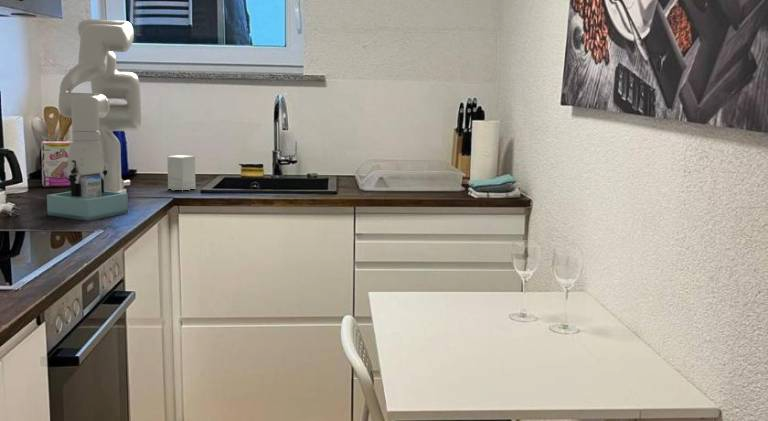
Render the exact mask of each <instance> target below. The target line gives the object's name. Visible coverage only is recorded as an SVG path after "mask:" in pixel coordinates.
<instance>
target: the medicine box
mask: <svg viewBox="0 0 768 421" xmlns="http://www.w3.org/2000/svg"><path fill="white" fill-rule="evenodd" d="M76 177H77V176H76ZM76 177H75V178H76ZM79 183H80V184H81V196H80V197H75V196H74V198H82V199H92V198H98V197H102V192H101V175H100V174H93V175H85V176H82V177H81V179H80V181H79Z"/></svg>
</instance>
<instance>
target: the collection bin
mask: <svg viewBox="0 0 768 421" xmlns="http://www.w3.org/2000/svg"><path fill="white" fill-rule="evenodd" d="M128 198H129V196H128V192H126V193H120V192H112V191H104V193H102V197H98V198H92V199H82V198H74V196H72V195H71V190H70V191H64V192H59V193H51V194H46V208H47V216H52V217H58V218H66V219H75V220H82V221H88V222H89V221H93V220H99V219H104V218H108V217H114V216H118V215H124V214H128V213H129V204H128V203H129V202H128V201H129V200H128Z"/></svg>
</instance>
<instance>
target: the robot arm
mask: <svg viewBox="0 0 768 421" xmlns="http://www.w3.org/2000/svg"><path fill="white" fill-rule="evenodd" d="M77 30H78V36H79V37H80V38H79V51H78V62H77V64H76V65H75V66H73V67H72V68H71V69H70V70H69V71H68V72H67V73H66V74H65V75H64V77H63V78H62V80H61V82H60V86H59V94H58V112H60V114H61V115H62V116H63V117H65V118H70V119H71V134H72V135H71V136H72V137H71V138H72V141H69V142H70V147H69V156H68V166H67V167H66V168H65V169H64V170H63V172H64V174H65V175H66V178H67V179H68V180H69V183H71V186H70V191H71V195H72V196H75V197H80V196H81V184H80V183H79V181H80V179H81V177H82V176H85V175H93V174H100V175H101V192H102V193H104V191H112V192H120V193H127V189H126V188H125V186H130V185H131V180H130V179H126V180H124V179H123V178H122V157H121V156H122V155H121V150H122V148H121V142H120V139H119V138H118V137H117V135H115V134H114V133H113V132H134V131H138V130H139V129H140V127H141V124H142V104H141V103H142V102H141V85H140V84H141V83H140V79H139V77H138V75H137V74H136V73H134V72H130V71H119V70H118V69H117V67H118V65H117V56H116V54H115V53H126V52H128V50H129V49H130V47H131V46H132V45H133V41H134V38H135V36H134V35H135V31H134V28H133V25H132V24H131V22H129V21H127V20H114V19H113V20H112V19H111V20H110V19H95V18H93V19H84V20H81V21H79V23H78V26H77ZM88 81H90V87H91V92H92V93H91V92H89V93H88V92H73V90H74V89H75V88H76V87H78V86H79V85H81V84H83V83H86V82H88ZM110 100H124V101H125V102H126V103H119V102H116V103H115V102H110ZM76 176H77V177H76ZM75 177H76V178H75Z"/></svg>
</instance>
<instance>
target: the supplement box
mask: <svg viewBox="0 0 768 421" xmlns="http://www.w3.org/2000/svg"><path fill="white" fill-rule="evenodd" d="M168 189H171V190H170V191H175V190H182V191H181V192H184V191H183V190H189V191H191V190H190V189H195V190H196V156H195V155H184V154H183V155H182V154H176V155H175V154H174V155H170V156H168V155H167V190H168Z"/></svg>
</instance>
